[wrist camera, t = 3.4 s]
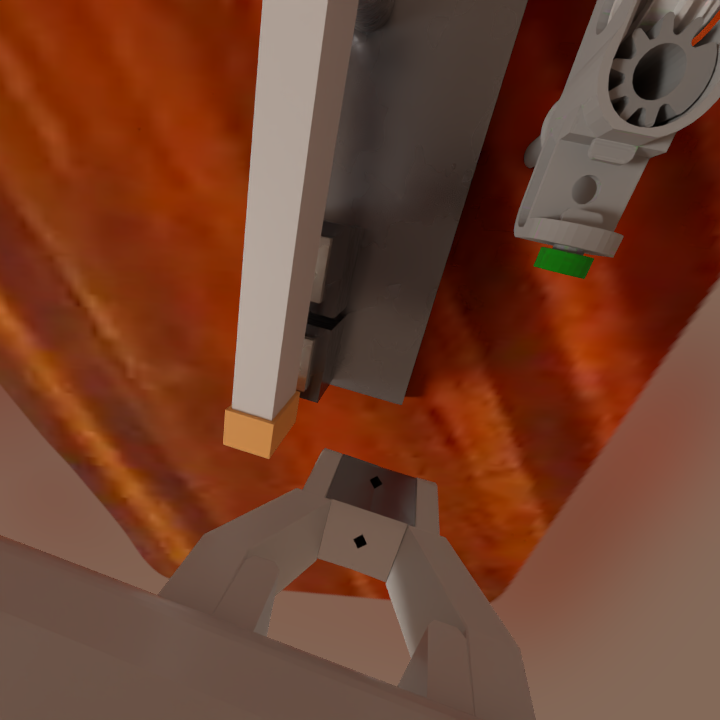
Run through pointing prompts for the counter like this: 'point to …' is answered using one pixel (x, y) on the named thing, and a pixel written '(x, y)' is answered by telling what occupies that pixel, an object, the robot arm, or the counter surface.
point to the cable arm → (285, 208)
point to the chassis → (409, 166)
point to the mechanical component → (615, 123)
